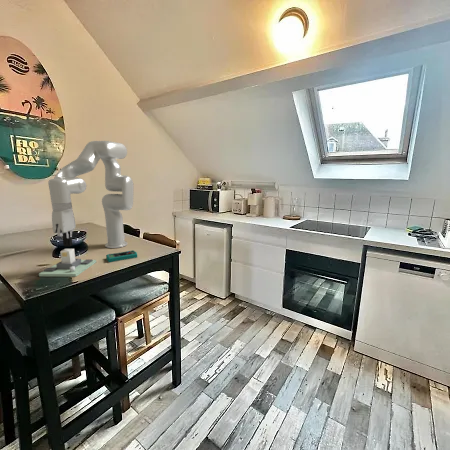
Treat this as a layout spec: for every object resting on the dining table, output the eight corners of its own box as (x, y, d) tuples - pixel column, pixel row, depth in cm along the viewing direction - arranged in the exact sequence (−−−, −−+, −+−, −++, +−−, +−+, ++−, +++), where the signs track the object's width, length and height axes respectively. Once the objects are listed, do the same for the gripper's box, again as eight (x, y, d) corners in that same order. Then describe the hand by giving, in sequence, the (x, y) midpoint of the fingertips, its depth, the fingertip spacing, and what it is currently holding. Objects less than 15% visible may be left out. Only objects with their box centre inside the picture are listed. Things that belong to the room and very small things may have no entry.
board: (64, 261, 129) (63, 254, 128) (96, 262, 129) (95, 255, 128) (39, 276, 111) (37, 268, 110) (75, 276, 111) (74, 268, 110)
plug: (67, 264, 121) (65, 248, 120) (76, 264, 121) (74, 248, 120) (61, 268, 117) (59, 251, 115) (70, 268, 117) (68, 251, 115)
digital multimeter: (138, 258, 136) (138, 252, 135) (108, 263, 128) (108, 258, 127) (134, 254, 142) (134, 249, 141) (106, 259, 134) (105, 254, 133)
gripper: (64, 204, 121) (69, 241, 125) (42, 209, 106) (49, 251, 111) (79, 204, 121) (84, 241, 125) (60, 209, 106) (66, 251, 111)
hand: (68, 245), depth 118 cm, fingers closed
